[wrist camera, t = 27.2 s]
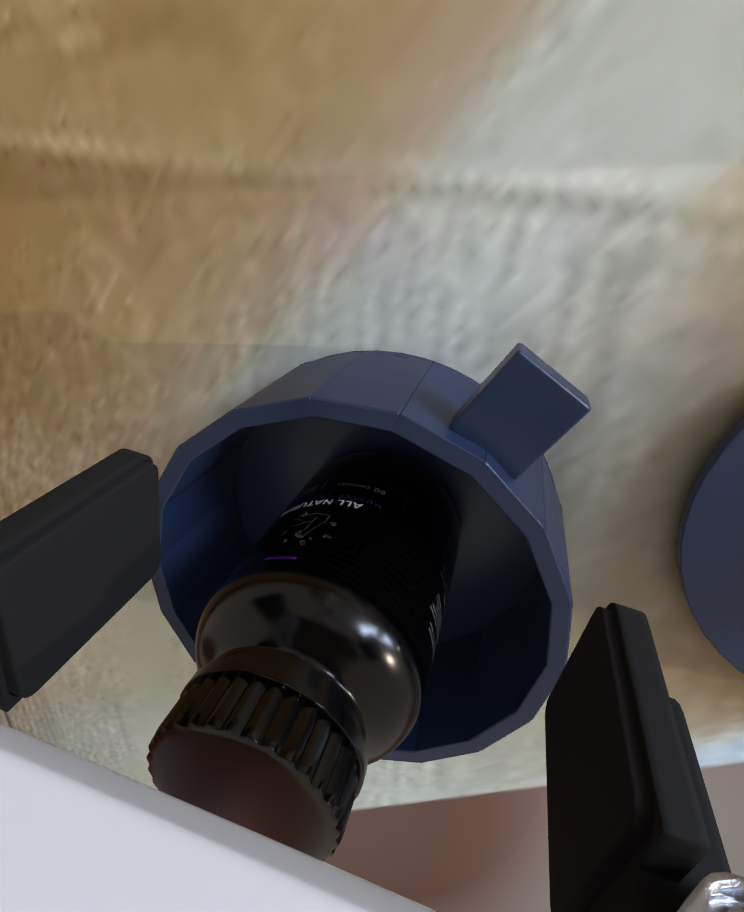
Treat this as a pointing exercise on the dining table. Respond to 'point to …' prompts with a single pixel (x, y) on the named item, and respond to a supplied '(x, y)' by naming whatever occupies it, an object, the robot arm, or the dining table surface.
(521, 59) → the dining table surface
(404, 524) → the supplement bottle
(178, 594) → the pan
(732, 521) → the pan lid
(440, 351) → the dining table surface
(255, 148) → the dining table surface
